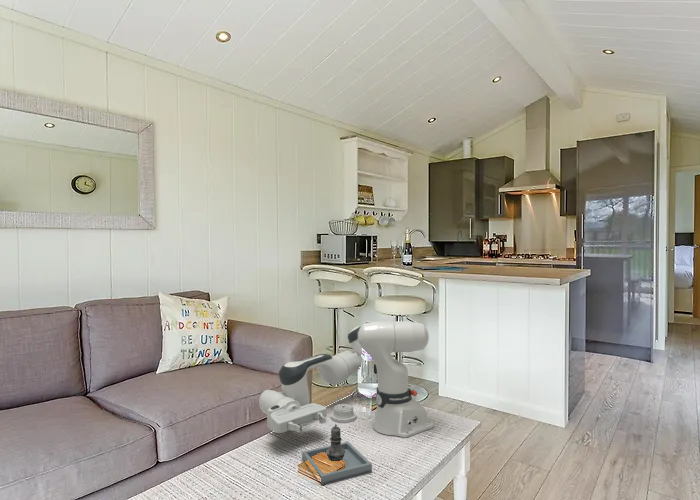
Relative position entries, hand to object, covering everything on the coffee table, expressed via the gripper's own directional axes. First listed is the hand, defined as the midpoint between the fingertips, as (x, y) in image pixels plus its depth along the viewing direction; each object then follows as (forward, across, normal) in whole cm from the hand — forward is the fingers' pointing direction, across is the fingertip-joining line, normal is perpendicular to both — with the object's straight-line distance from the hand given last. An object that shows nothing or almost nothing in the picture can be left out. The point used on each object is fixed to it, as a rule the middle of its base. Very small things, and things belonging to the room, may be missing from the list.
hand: (312, 424), depth 144 cm
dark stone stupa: (+12, 0, -8) cm, 14 cm away
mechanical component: (-14, -25, -9) cm, 30 cm away
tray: (+12, 0, -9) cm, 15 cm away
